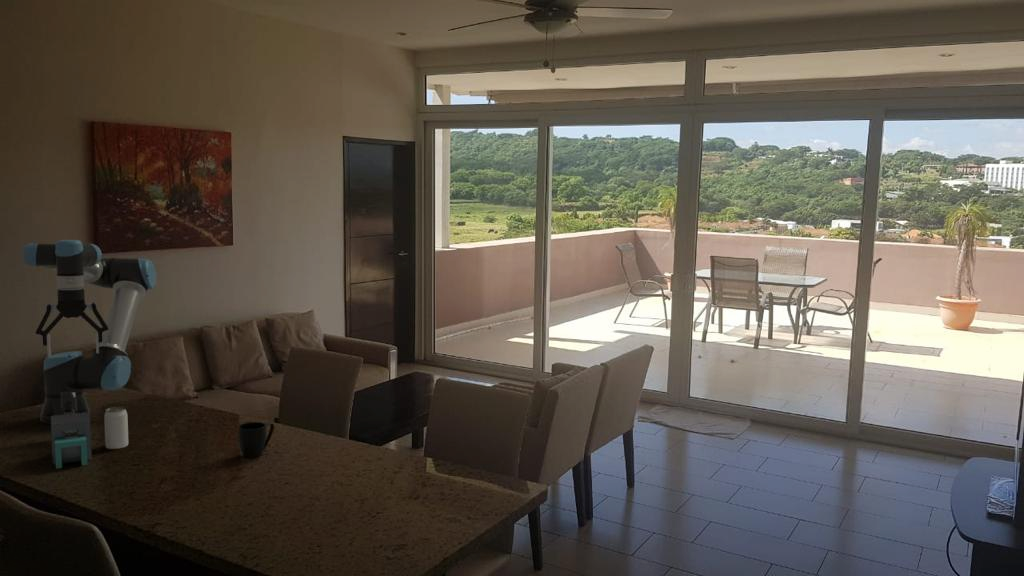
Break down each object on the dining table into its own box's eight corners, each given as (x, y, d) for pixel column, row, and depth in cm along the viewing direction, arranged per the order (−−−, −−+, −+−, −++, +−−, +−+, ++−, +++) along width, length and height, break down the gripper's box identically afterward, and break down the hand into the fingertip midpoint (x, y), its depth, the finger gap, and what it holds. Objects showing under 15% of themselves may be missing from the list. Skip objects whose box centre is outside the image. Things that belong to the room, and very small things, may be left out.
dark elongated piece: (61, 418, 254) (60, 391, 253) (77, 416, 257) (76, 389, 255) (63, 441, 232) (61, 411, 231) (79, 439, 234) (78, 409, 233)
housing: (52, 454, 238) (51, 415, 236) (90, 449, 243) (88, 411, 241) (52, 464, 229) (51, 424, 228) (91, 459, 234) (90, 420, 233)
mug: (282, 452, 245) (281, 422, 244) (249, 462, 235) (248, 431, 234) (265, 446, 250) (265, 417, 248) (232, 456, 240) (232, 426, 239)
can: (121, 450, 243) (120, 412, 242) (101, 449, 243) (99, 411, 242) (132, 443, 250) (131, 406, 248) (112, 442, 250) (110, 406, 248)
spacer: (56, 464, 229) (54, 439, 228) (87, 460, 233) (86, 436, 232) (55, 468, 226) (54, 443, 225) (87, 464, 230) (86, 439, 229)
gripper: (24, 291, 241) (27, 359, 244) (115, 288, 253) (117, 353, 255) (25, 288, 248) (29, 354, 250) (114, 285, 259) (116, 348, 262)
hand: (73, 354), depth 253 cm, fingers open, 13 cm apart
